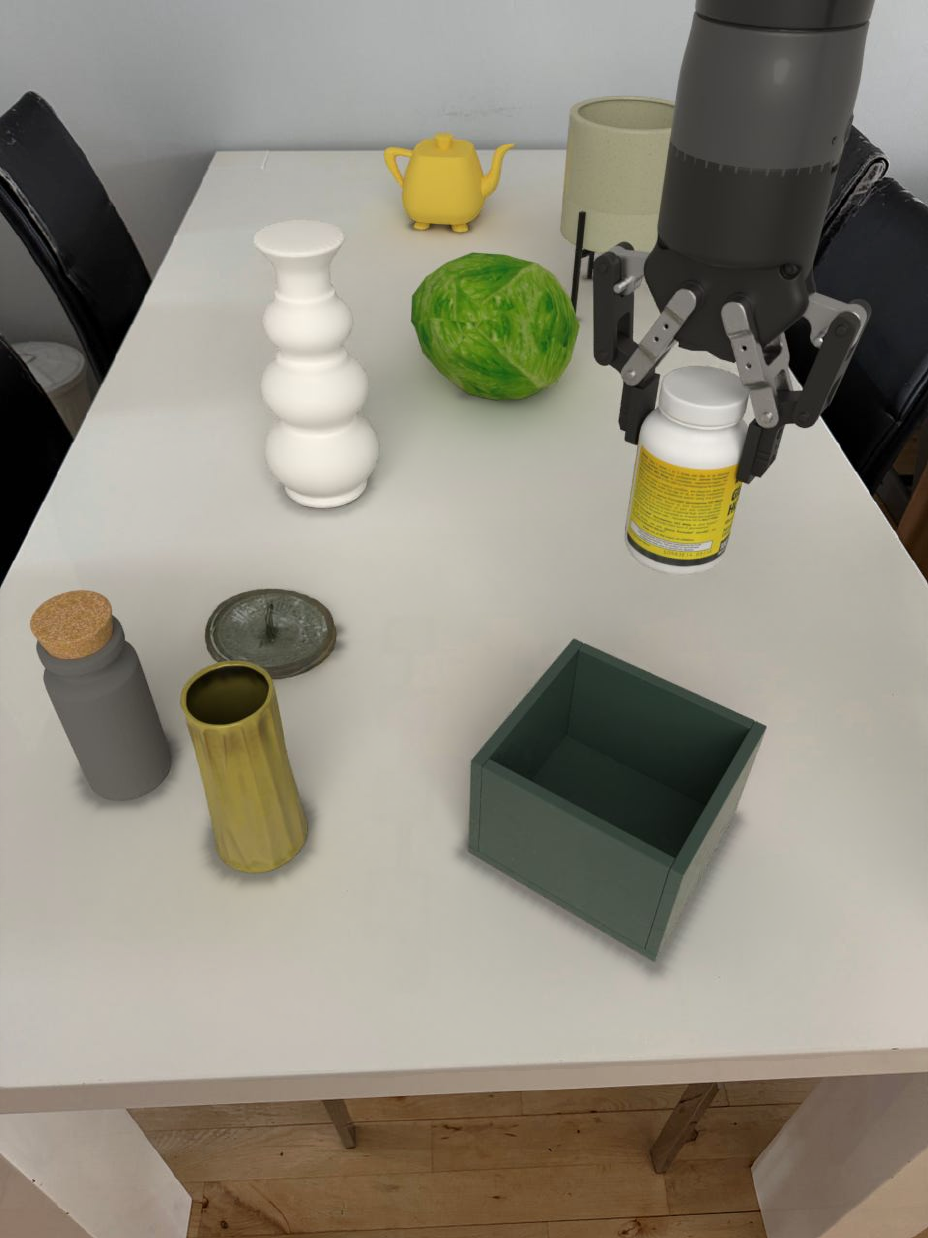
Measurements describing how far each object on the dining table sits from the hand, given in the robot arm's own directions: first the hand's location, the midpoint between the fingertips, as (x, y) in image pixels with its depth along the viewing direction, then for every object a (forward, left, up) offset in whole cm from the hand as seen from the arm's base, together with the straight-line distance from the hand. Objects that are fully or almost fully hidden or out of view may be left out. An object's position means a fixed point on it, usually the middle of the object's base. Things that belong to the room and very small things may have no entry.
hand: (691, 455), depth 52 cm
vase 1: (+27, +8, -24) cm, 37 cm away
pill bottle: (0, 0, -7) cm, 7 cm away
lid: (+28, -10, -24) cm, 38 cm away
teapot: (+10, -104, -24) cm, 107 cm away
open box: (+4, +9, -24) cm, 26 cm away
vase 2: (+25, -32, -24) cm, 47 cm away
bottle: (+37, +2, -24) cm, 44 cm away
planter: (-11, -74, -24) cm, 79 cm away
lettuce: (+7, -52, -24) cm, 58 cm away
